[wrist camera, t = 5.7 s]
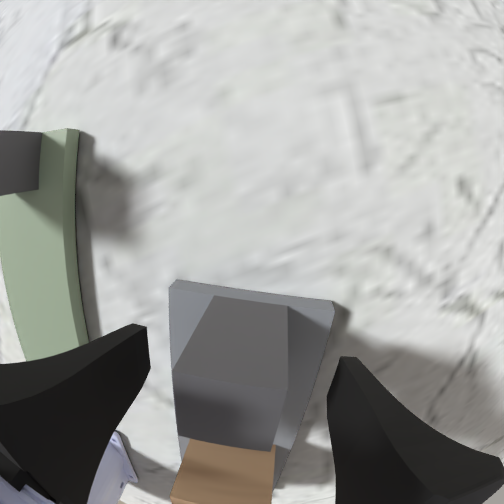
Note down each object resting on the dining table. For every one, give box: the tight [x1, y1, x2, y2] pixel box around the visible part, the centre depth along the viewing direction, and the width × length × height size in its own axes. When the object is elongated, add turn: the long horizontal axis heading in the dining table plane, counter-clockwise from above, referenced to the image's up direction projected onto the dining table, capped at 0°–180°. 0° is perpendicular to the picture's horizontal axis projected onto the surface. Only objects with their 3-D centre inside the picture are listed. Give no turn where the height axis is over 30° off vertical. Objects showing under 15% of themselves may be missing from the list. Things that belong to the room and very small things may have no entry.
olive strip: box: [0, 128, 89, 361], centre depth 11 cm, size 18×7×6 cm, turn 174°
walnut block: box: [170, 438, 276, 504], centre depth 12 cm, size 5×5×5 cm
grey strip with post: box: [169, 280, 335, 492], centre depth 12 cm, size 18×7×6 cm, turn 174°
